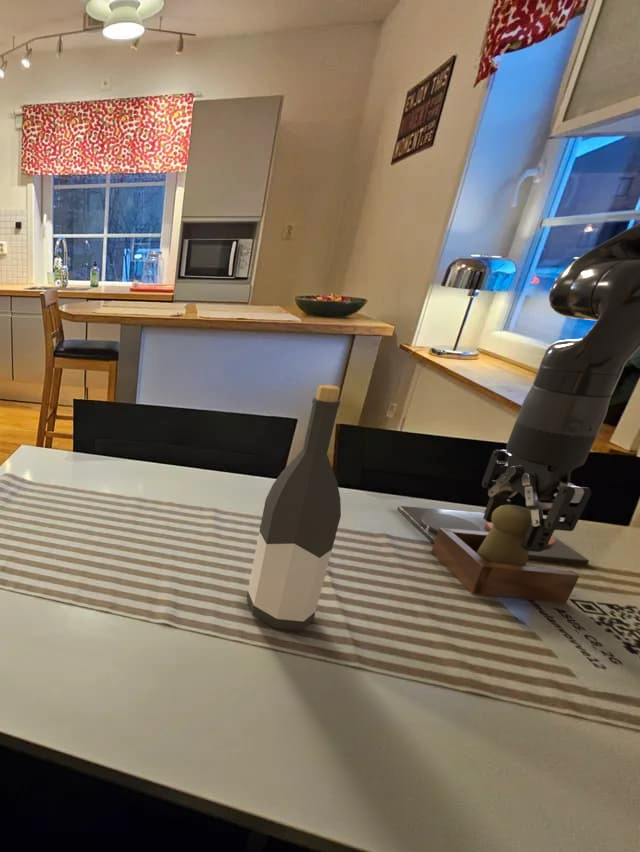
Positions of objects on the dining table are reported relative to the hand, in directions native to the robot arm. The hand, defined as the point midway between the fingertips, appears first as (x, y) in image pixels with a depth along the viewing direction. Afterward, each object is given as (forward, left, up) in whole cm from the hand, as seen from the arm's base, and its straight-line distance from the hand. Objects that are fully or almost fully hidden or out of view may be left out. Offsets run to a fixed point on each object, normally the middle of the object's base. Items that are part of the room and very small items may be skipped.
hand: (510, 534), depth 69 cm
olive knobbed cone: (0, 0, -7) cm, 7 cm away
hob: (-6, -13, -7) cm, 16 cm away
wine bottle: (+33, +14, -7) cm, 37 cm away
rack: (0, 0, -7) cm, 7 cm away
